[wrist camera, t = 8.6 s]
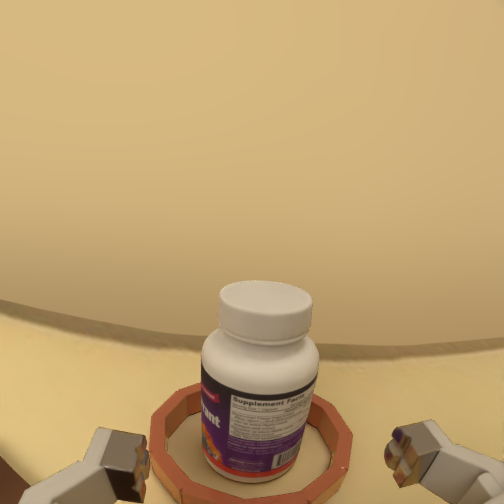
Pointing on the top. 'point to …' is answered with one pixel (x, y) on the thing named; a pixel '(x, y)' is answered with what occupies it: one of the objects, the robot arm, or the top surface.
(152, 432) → the ring
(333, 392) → the top surface
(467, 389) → the top surface
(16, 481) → the board
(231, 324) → the pill bottle
